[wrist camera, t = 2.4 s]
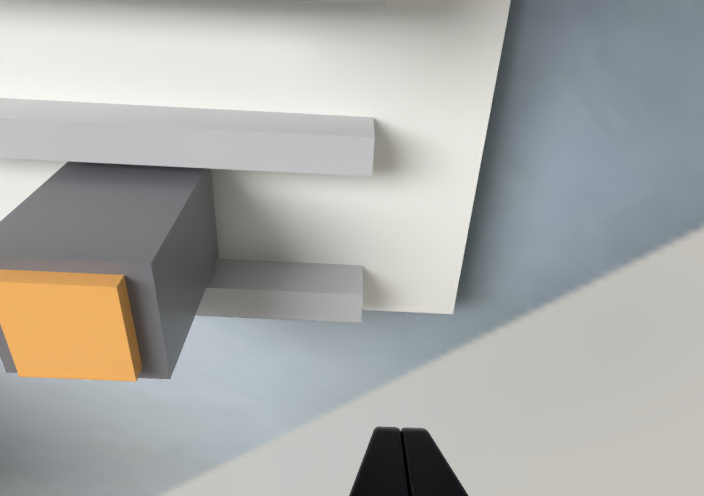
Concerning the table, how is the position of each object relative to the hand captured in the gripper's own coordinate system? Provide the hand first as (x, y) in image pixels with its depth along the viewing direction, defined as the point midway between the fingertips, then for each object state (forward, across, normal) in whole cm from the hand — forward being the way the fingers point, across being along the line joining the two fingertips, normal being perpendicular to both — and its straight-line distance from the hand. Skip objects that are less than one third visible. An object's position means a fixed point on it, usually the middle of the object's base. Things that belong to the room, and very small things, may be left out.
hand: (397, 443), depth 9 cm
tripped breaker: (+8, +6, 0) cm, 10 cm away
